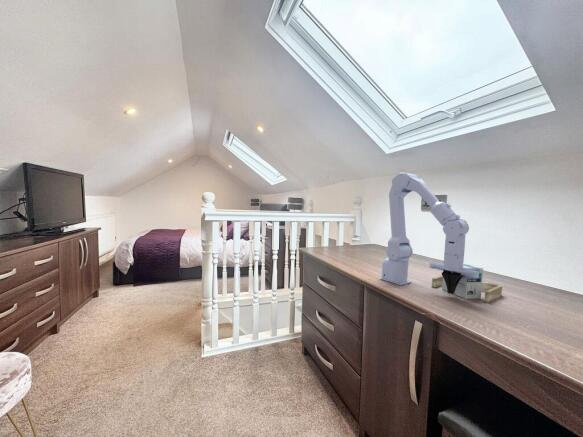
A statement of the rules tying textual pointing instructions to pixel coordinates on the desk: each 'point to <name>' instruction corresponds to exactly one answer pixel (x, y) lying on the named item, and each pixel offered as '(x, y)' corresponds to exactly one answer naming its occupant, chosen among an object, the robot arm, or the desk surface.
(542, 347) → the desk surface
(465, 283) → the light bulb box
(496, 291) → the wooden frame
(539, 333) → the desk surface
